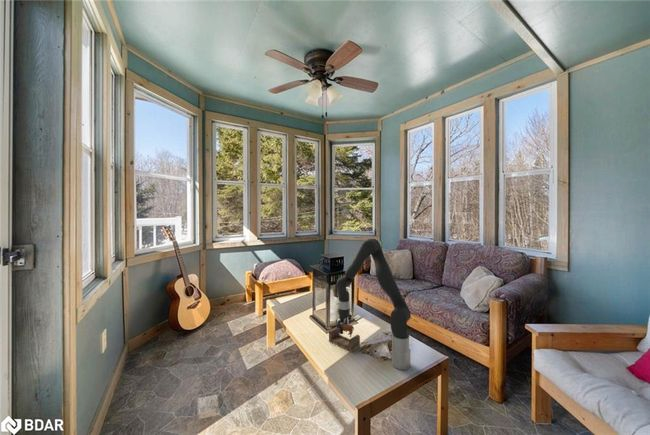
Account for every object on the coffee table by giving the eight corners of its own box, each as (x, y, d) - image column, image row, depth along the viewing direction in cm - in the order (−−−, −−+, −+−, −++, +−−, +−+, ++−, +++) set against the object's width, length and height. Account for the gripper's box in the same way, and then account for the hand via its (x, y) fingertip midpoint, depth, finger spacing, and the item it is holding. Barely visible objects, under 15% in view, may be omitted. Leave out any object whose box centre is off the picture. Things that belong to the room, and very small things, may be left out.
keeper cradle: (359, 346, 162) (359, 335, 161) (351, 352, 155) (351, 341, 155) (337, 336, 175) (337, 326, 175) (328, 341, 168) (328, 330, 168)
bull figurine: (336, 330, 170) (336, 318, 170) (354, 335, 163) (354, 323, 163) (333, 333, 166) (333, 321, 166) (351, 338, 159) (351, 326, 159)
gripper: (341, 311, 156) (341, 338, 157) (355, 305, 167) (355, 330, 167) (332, 308, 161) (332, 334, 162) (346, 302, 172) (346, 326, 173)
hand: (343, 332), depth 165 cm, fingers closed on bull figurine, 5 cm apart
